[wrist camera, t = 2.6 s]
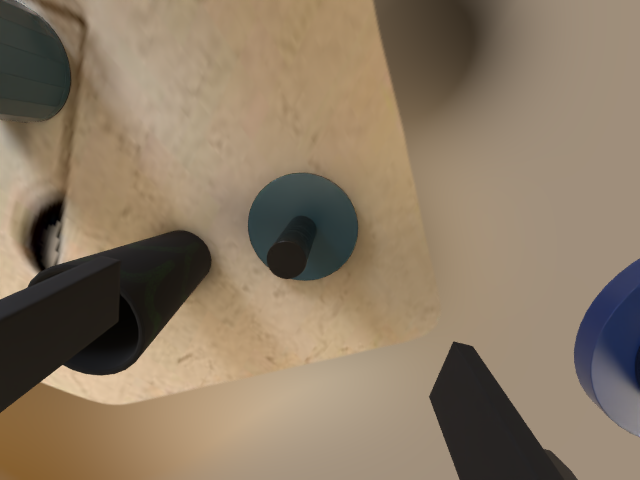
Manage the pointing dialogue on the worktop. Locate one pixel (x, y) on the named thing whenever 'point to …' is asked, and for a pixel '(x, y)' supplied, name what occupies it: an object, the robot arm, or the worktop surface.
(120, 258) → the cup
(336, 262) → the lid
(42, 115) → the pot
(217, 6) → the worktop surface
